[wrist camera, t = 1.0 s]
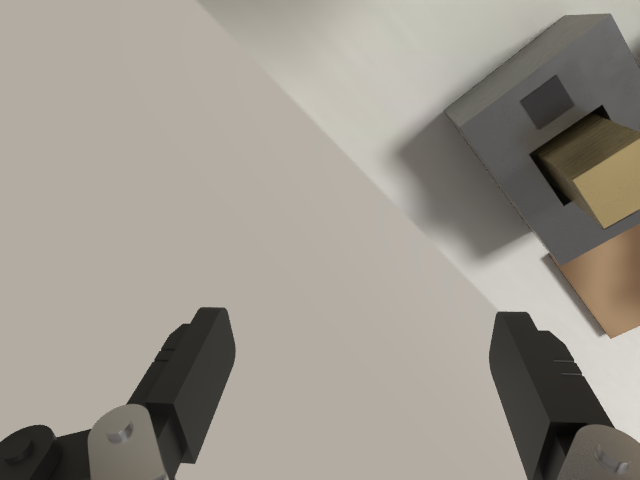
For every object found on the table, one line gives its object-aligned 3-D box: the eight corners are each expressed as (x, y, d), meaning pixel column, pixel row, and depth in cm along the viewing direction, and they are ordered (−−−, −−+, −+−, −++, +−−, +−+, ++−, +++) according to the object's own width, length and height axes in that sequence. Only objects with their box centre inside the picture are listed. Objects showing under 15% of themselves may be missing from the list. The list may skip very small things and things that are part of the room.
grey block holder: (565, 15, 28) (611, 13, 23) (647, 162, 33) (703, 189, 27) (443, 110, 32) (459, 127, 27) (532, 231, 36) (560, 267, 31)
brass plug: (564, 102, 30) (646, 134, 21) (588, 142, 31) (675, 188, 23) (514, 136, 32) (572, 180, 23) (540, 174, 33) (604, 228, 24)
